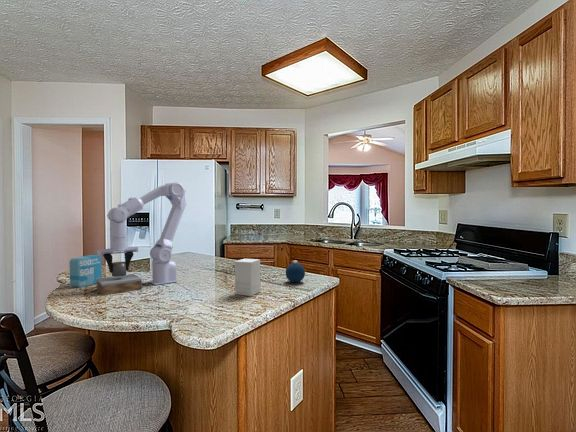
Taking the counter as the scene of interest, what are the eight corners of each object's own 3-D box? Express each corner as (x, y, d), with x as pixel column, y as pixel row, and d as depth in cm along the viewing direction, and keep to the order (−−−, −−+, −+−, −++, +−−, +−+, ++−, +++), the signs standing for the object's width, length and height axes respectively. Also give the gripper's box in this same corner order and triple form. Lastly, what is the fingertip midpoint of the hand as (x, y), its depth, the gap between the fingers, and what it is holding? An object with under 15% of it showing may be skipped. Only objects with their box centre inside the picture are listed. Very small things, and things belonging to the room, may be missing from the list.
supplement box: (261, 291, 130) (261, 259, 130) (251, 296, 124) (251, 262, 123) (245, 289, 133) (244, 258, 133) (234, 294, 127) (234, 260, 126)
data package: (78, 288, 138) (77, 259, 137) (69, 287, 139) (68, 258, 139) (102, 281, 149) (101, 254, 149) (94, 281, 150) (93, 254, 150)
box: (133, 283, 144) (133, 276, 144) (141, 289, 135) (141, 280, 135) (96, 289, 136) (96, 280, 136) (102, 295, 126) (102, 286, 126)
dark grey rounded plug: (124, 273, 139) (124, 261, 139) (127, 275, 135) (127, 262, 135) (110, 274, 136) (110, 262, 135) (113, 277, 132) (113, 264, 131)
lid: (133, 275, 144) (133, 273, 144) (141, 280, 135) (141, 278, 135) (96, 280, 136) (96, 278, 136) (102, 286, 126) (102, 284, 126)
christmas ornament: (294, 279, 151) (294, 257, 151) (309, 282, 146) (309, 259, 145) (281, 282, 145) (281, 259, 145) (295, 285, 140) (295, 261, 139)
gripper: (99, 239, 127) (100, 275, 128) (139, 237, 136) (140, 270, 137) (96, 238, 133) (96, 272, 133) (135, 235, 142) (136, 268, 142)
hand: (118, 271), depth 135 cm, fingers closed on dark grey rounded plug, 5 cm apart
